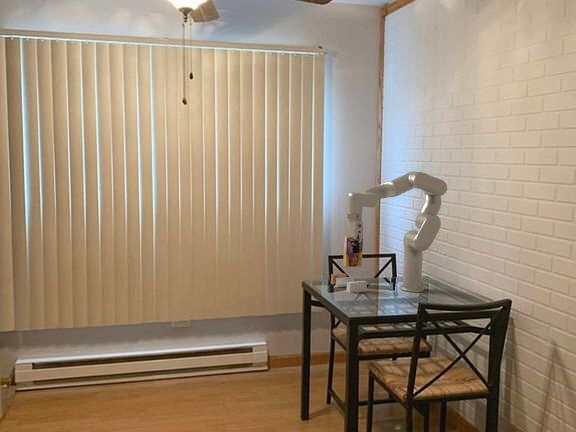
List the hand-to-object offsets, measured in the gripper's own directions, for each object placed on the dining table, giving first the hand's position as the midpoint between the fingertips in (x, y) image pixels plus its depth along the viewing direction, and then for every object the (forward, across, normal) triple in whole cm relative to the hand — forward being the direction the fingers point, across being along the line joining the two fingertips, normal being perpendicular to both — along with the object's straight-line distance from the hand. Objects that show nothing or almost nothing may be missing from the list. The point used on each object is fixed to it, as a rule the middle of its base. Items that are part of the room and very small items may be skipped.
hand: (353, 251), depth 311 cm
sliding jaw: (+19, +10, 0) cm, 22 cm away
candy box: (+8, 0, 0) cm, 8 cm away
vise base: (+21, +4, 0) cm, 21 cm away
